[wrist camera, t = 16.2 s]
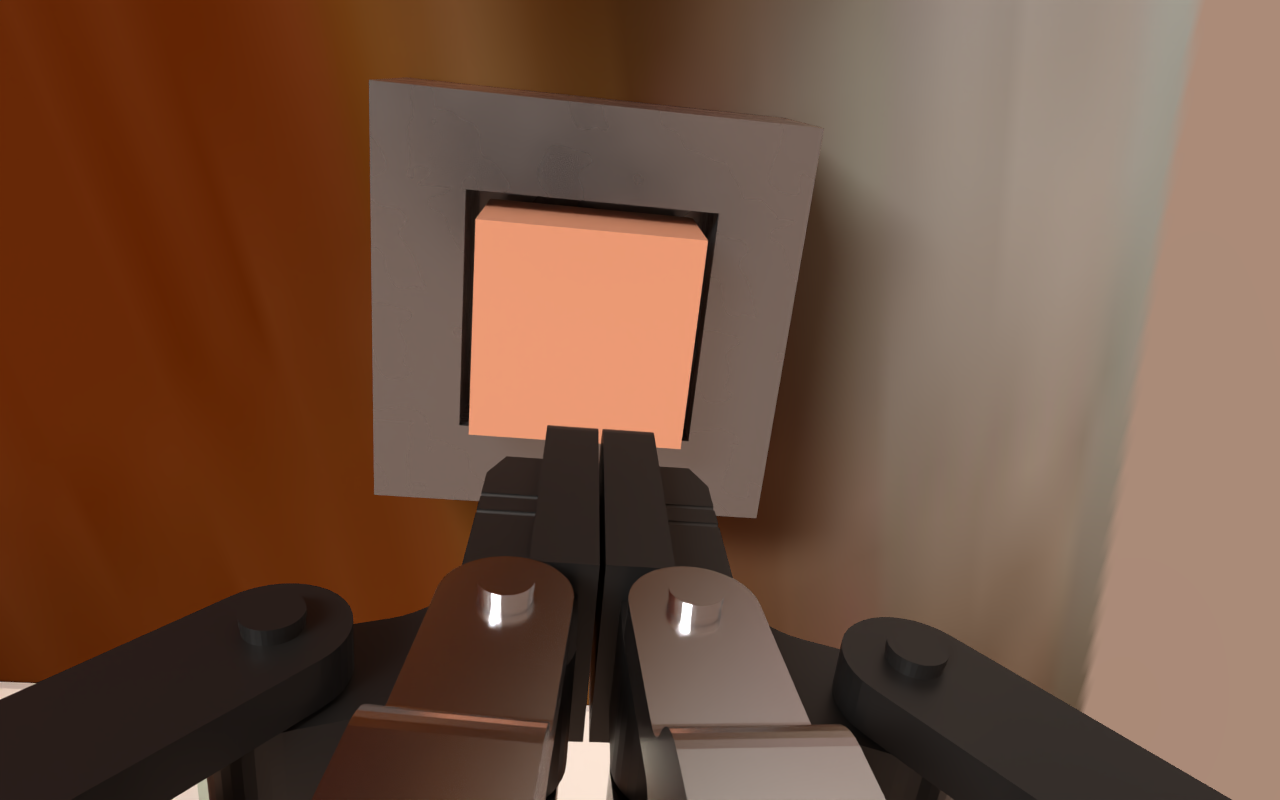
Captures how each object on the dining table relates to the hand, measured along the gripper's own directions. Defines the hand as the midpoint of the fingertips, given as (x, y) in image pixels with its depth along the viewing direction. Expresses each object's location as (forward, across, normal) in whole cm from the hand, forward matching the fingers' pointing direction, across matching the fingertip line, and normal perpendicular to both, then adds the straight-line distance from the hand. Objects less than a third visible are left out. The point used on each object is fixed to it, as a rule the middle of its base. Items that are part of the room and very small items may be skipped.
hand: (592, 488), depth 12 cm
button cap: (+11, 0, 0) cm, 11 cm away
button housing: (+13, 0, 0) cm, 13 cm away
